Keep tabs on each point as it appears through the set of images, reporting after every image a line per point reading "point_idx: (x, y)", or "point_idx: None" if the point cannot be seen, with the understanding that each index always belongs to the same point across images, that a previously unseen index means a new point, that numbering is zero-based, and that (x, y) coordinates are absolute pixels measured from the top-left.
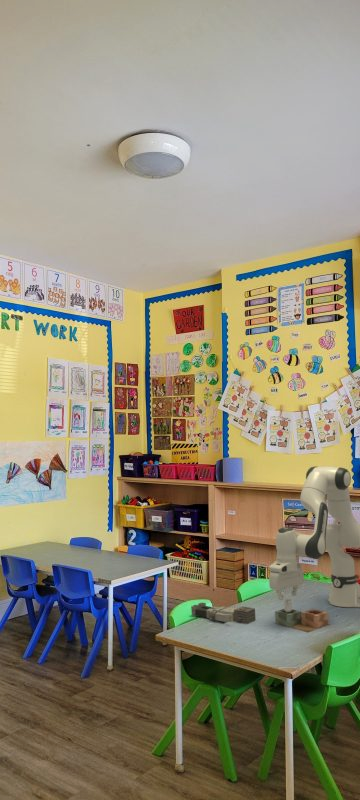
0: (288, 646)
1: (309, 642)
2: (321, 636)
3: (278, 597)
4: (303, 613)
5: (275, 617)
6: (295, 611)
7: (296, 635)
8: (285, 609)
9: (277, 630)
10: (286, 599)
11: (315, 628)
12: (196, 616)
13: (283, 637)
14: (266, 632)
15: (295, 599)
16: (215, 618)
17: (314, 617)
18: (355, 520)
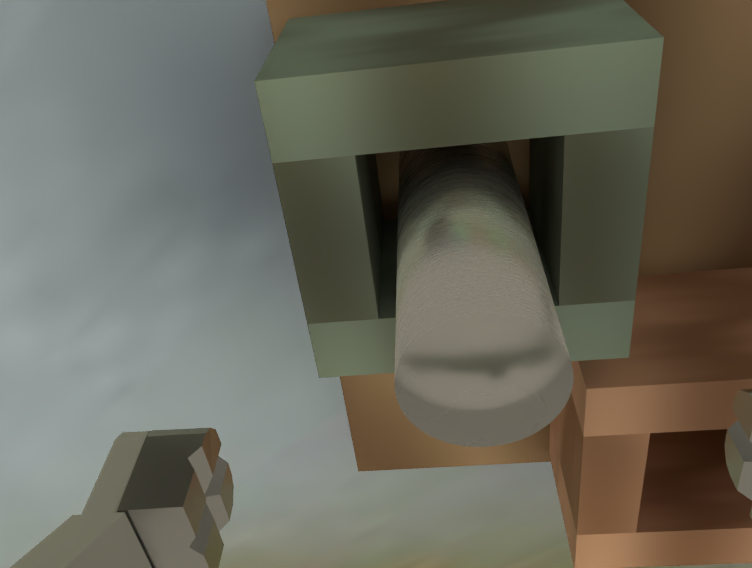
0: (25, 491)
1: (248, 522)
2: (454, 499)
3: (108, 471)
4: (582, 407)
5: (275, 49)
6: (557, 309)
7: (282, 374)
8: (398, 254)
9: (210, 144)
10: (469, 362)
11: (525, 445)
12: None
13: (120, 342)
14: (27, 115)
15: None
16: None
17: (572, 519)
18: None
